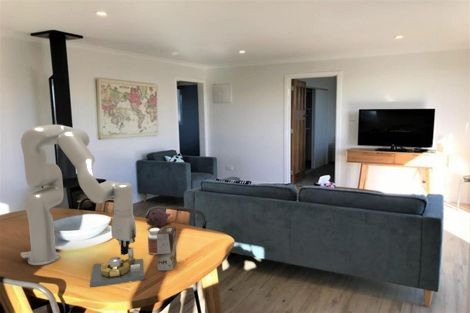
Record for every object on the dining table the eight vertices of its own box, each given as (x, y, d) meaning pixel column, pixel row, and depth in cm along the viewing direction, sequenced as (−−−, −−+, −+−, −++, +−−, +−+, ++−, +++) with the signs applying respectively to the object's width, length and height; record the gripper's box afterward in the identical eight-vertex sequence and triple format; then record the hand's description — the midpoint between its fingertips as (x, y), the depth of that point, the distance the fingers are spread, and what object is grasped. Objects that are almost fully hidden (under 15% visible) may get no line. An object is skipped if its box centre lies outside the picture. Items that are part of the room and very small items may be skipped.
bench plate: (90, 287, 137) (89, 269, 136) (93, 268, 152) (92, 252, 151) (144, 279, 142) (143, 263, 141) (142, 262, 157) (142, 247, 156)
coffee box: (172, 270, 150) (171, 233, 147) (157, 270, 150) (156, 233, 148) (177, 261, 159) (176, 226, 157) (162, 261, 159) (161, 226, 157)
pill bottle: (162, 254, 166) (161, 231, 165) (148, 255, 165) (147, 232, 163) (161, 249, 172) (161, 226, 171) (148, 250, 171) (147, 227, 169)
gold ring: (114, 279, 138) (113, 263, 137) (95, 272, 143) (94, 257, 142) (142, 263, 151) (142, 249, 150) (124, 258, 156) (123, 244, 155)
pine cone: (153, 232, 194) (152, 214, 192) (140, 229, 199) (139, 212, 197) (174, 223, 209) (174, 206, 207) (161, 220, 214) (161, 204, 212)
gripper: (103, 211, 151) (105, 253, 154) (130, 217, 144) (131, 260, 147) (117, 207, 158) (118, 247, 161) (143, 212, 151) (144, 254, 154)
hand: (124, 253), depth 154 cm, fingers closed
